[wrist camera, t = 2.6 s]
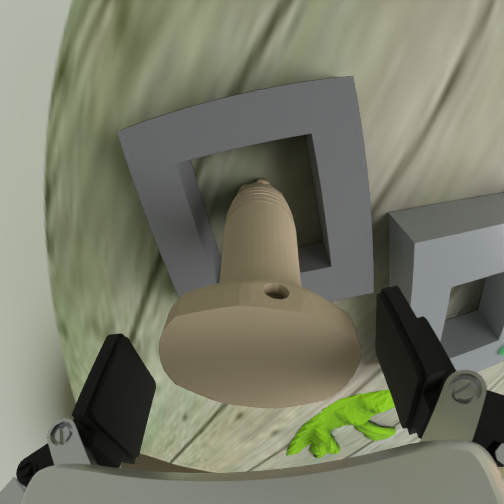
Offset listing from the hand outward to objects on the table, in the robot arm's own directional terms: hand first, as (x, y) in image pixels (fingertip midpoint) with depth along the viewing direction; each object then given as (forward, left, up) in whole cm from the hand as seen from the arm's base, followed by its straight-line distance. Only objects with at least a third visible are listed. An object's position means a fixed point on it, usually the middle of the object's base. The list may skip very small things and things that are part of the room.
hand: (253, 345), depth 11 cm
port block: (+12, +17, -14) cm, 25 cm away
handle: (0, 0, -14) cm, 14 cm away
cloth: (+37, +5, -15) cm, 40 cm away
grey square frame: (0, 0, -14) cm, 14 cm away
